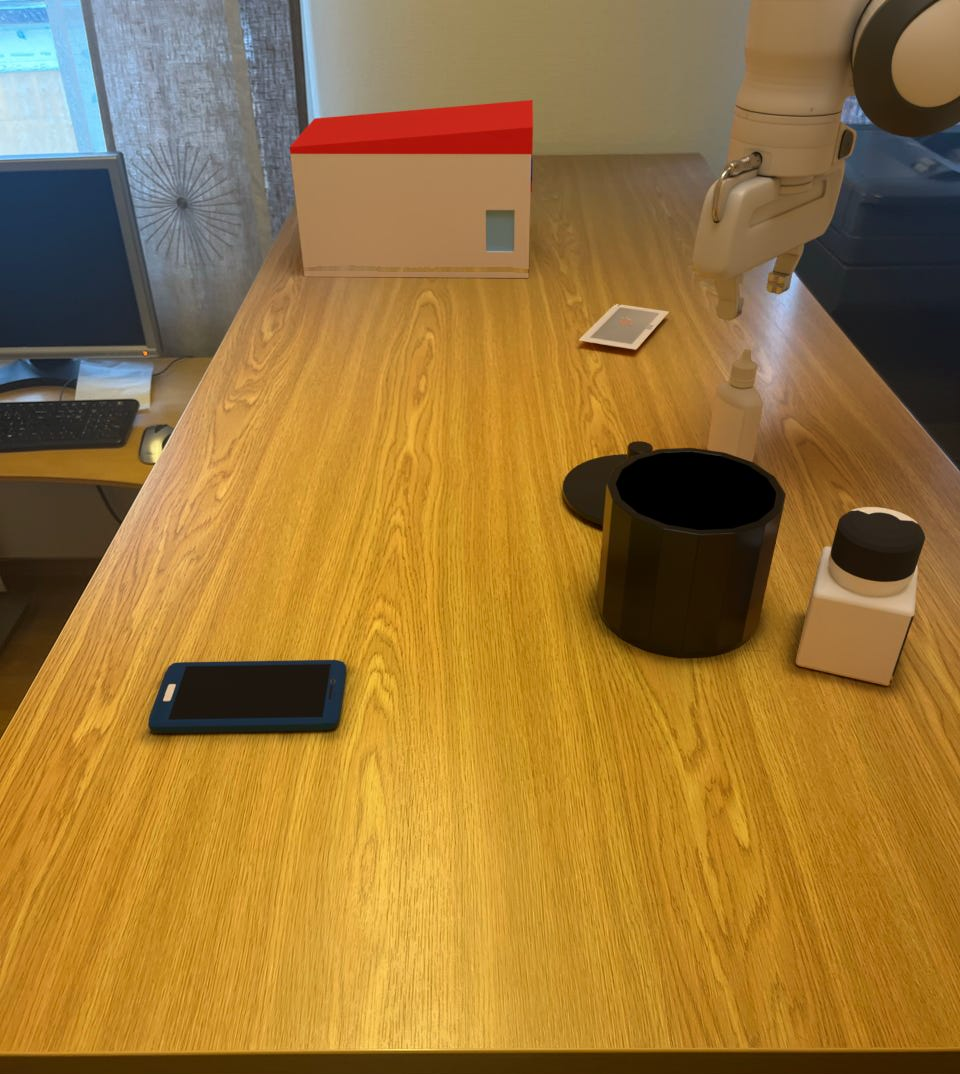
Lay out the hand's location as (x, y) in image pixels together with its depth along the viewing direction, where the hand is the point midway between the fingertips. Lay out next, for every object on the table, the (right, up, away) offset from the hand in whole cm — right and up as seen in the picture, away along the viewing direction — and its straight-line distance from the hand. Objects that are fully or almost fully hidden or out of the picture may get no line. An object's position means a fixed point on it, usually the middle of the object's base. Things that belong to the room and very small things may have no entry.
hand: (753, 304), depth 93 cm
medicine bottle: (+3, -33, -15) cm, 36 cm away
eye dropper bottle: (0, -13, +10) cm, 17 cm away
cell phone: (-43, -37, -19) cm, 60 cm away
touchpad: (-6, +9, +39) cm, 41 cm away
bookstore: (-35, +30, +66) cm, 81 cm away
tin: (-9, -29, -10) cm, 32 cm away
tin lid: (-11, -17, +4) cm, 21 cm away
